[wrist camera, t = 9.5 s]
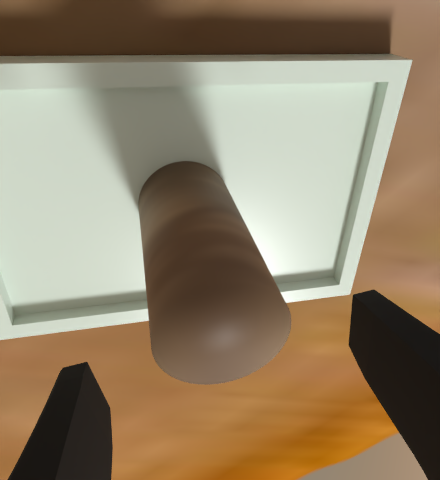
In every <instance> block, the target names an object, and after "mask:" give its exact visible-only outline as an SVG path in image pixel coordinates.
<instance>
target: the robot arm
mask: <svg viewBox="0 0 440 480" xmlns="http://www.w3.org/2000/svg"><path fill="white" fill-rule="evenodd" d="M349 347H350V349H351V351H352V353H353V355H354V357H355V359H356V361H357V363H358V365H359V367H360V369H361V371H362V373H363V375H364V377H365V379H366V381H367V383H368V384H369V386H370V387H371V389H372V390H373V392H374V394H375V395H376V397H377V398H378V400H379V401H380V403H381V405H382V406H383V408H384V409H385V411H386V412H387V414H388V416H389V417H390V419H391V420H392V422H393V423H394V425H395V426H396V428H397V429H398V431H399V433H400V434H401V435H402V437H403V439H404V440H405V442H406V443H407V445H408V447H409V448H410V450H411V451H412V453H413V454H414V456H415V458H416V459H417V461H418V463H419V464H420V466H421V467H422V469H423V471H424V473H425V475H426V477H427V478H428V480H440V334H439V333H437V332H435V331H434V330H432V329H431V328H429V327H428V326H426V325H425V324H423V323H422V322H420V321H419V320H418V319H416V318H415V317H413V316H412V315H410V314H409V313H407V312H406V311H404V310H403V309H402V308H400V307H399V306H397V305H396V304H394V303H393V302H391V301H390V300H388V299H387V298H386V297H384V296H383V295H381V294H380V293H378V292H377V291H375V290H370V291H366V292H362V293H358V294H354V295H353V300H352V312H351V324H350V336H349ZM111 469H112V428H111V414H110V407H109V405H108V403H107V401H106V399H105V397H104V395H103V393H102V391H101V389H100V387H99V385H98V383H97V381H96V379H95V377H94V375H93V373H92V371H91V369H90V367H89V365H88V363H87V362H84V363H80V364H77V365H73V366H69V367H65V368H63V369H62V370H61V371H60V373H59V375H58V378H57V380H56V382H55V385H54V387H53V389H52V391H51V394H50V396H49V398H48V400H47V402H46V405H45V407H44V409H43V411H42V413H41V415H40V417H39V419H38V422H37V424H36V426H35V428H34V430H33V432H32V434H31V436H30V438H29V440H28V442H27V444H26V446H25V448H24V450H23V452H22V454H21V456H20V458H19V460H18V462H17V464H16V465H15V467H14V469H13V471H12V473H11V475H10V476H9V478H8V480H111Z"/></svg>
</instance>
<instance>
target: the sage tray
mask: <svg viewBox="0 0 440 480" xmlns="http://www.w3.org/2000/svg"><path fill="white" fill-rule="evenodd" d="M411 63H412V60H411V59H407V58H404V57H401V56H397V55H394V54H263V55H93V56H0V340H3V339H11V338H19V337H26V336H34V335H42V334H50V333H57V332H65V331H73V330H80V329H88V328H96V327H103V326H111V325H119V324H126V323H134V322H142V321H149V317H148V306H147V295H146V284H145V273H144V262H143V251H142V240H141V229H140V218H139V206H138V201H139V195H140V191H141V189H142V187H143V185H144V183H145V182H146V180H147V179H148V178H149V177H150V176H151V175H152V174H153V173H154V172H155V171H157V170H158V169H160V168H162V167H163V166H166V165H168V164H171V163H174V162H180V161H192V162H198V163H201V164H204V165H206V166H208V167H210V168H212V169H213V170H214V171H216V172H217V173H218V174H219V175H220V177H221V178H222V179H223V181H224V183H225V185H226V187H227V189H228V191H229V193H230V194H231V196H232V198H233V200H234V202H235V204H236V206H237V208H238V210H239V212H240V214H241V216H242V218H243V220H244V222H245V224H246V226H247V228H248V230H249V232H250V234H251V236H252V238H253V239H254V241H255V243H256V245H257V247H258V249H259V251H260V253H261V255H262V257H263V259H264V261H265V263H266V265H267V267H268V269H269V271H270V273H271V275H272V277H273V279H274V281H275V283H276V284H277V286H278V288H279V290H280V292H281V294H282V296H283V298H284V300H285V302H286V303H288V302H295V301H303V300H311V299H319V298H326V297H334V296H342V295H349V294H350V292H351V288H352V285H353V281H354V277H355V273H356V270H357V266H358V262H359V258H360V255H361V251H362V247H363V243H364V240H365V236H366V232H367V228H368V225H369V221H370V217H371V213H372V210H373V206H374V202H375V198H376V195H377V191H378V187H379V183H380V180H381V176H382V172H383V168H384V165H385V161H386V157H387V153H388V150H389V146H390V142H391V138H392V135H393V131H394V127H395V123H396V120H397V116H398V112H399V108H400V105H401V101H402V97H403V93H404V90H405V86H406V82H407V78H408V75H409V71H410V67H411Z"/></svg>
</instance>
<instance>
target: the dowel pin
mask: <svg viewBox="0 0 440 480" xmlns="http://www.w3.org/2000/svg"><path fill="white" fill-rule="evenodd" d="M138 206H139V218H140V229H141V240H142V251H143V262H144V273H145V284H146V295H147V306H148V317H149V328H150V339H151V349H152V354H153V357H154V359H155V361H156V363H157V364H158V365H159V367H160V368H161V369H162V370H163V371H164V372H166V373H167V374H168V375H170V376H172V377H174V378H176V379H178V380H181V381H184V382H188V383H193V384H219V383H225V382H229V381H233V380H236V379H239V378H242V377H244V376H247V375H249V374H251V373H253V372H255V371H257V370H258V369H260V368H261V367H263V366H264V365H266V364H267V363H268V362H269V361H271V360H272V359H273V358H274V357H275V356H276V355H277V354H278V353H279V351H280V350H281V349H282V347H283V346H284V344H285V342H286V340H287V338H288V336H289V333H290V329H291V314H290V311H289V308H288V306H287V304H286V302H285V300H284V298H283V296H282V294H281V292H280V290H279V288H278V286H277V284H276V283H275V281H274V279H273V277H272V275H271V273H270V271H269V269H268V267H267V265H266V263H265V261H264V259H263V257H262V255H261V253H260V251H259V249H258V247H257V245H256V243H255V241H254V239H253V238H252V236H251V234H250V232H249V230H248V228H247V226H246V224H245V222H244V220H243V218H242V216H241V214H240V212H239V210H238V208H237V206H236V204H235V202H234V200H233V198H232V196H231V194H230V193H229V191H228V189H227V187H226V185H225V183H224V181H223V179H222V178H221V177H220V175H219V174H218V173H217V172H216V171H214V170H213V169H212V168H210V167H208V166H206V165H204V164H201V163H198V162H192V161H180V162H174V163H171V164H168V165H166V166H163V167H162V168H160V169H158V170H157V171H155V172H154V173H153V174H152V175H151V176H150V177H149V178H148V179H147V180H146V182H145V183H144V185H143V187H142V189H141V191H140V195H139V201H138Z"/></svg>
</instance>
